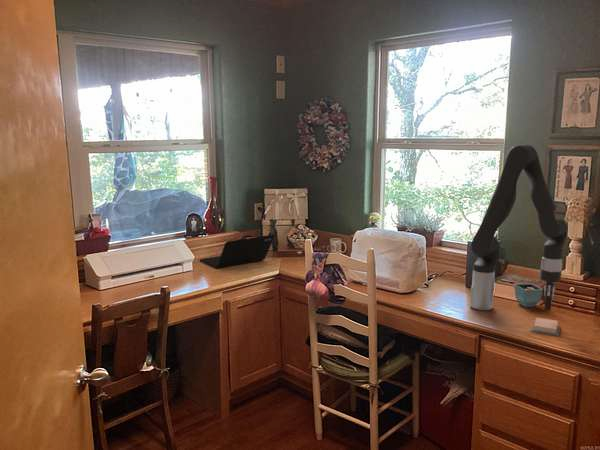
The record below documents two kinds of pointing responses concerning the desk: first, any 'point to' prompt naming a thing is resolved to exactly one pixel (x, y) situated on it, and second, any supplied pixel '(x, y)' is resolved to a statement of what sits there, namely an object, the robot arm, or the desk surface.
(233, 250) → the laptop
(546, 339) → the desk surface
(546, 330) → the tile
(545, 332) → the mat
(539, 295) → the flower pot
